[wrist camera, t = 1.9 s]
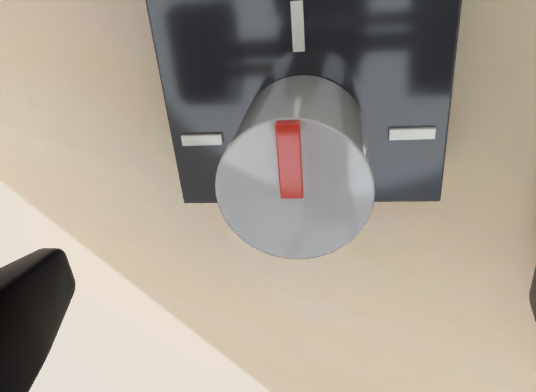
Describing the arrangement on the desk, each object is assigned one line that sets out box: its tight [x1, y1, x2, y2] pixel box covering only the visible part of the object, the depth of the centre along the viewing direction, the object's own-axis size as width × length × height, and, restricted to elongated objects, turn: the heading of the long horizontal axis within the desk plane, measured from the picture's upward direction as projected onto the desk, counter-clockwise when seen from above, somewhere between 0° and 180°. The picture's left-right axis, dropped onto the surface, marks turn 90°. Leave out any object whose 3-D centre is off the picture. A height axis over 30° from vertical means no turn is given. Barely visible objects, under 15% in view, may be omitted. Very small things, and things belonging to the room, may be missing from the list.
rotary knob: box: [215, 75, 375, 259], centre depth 13 cm, size 4×4×4 cm
